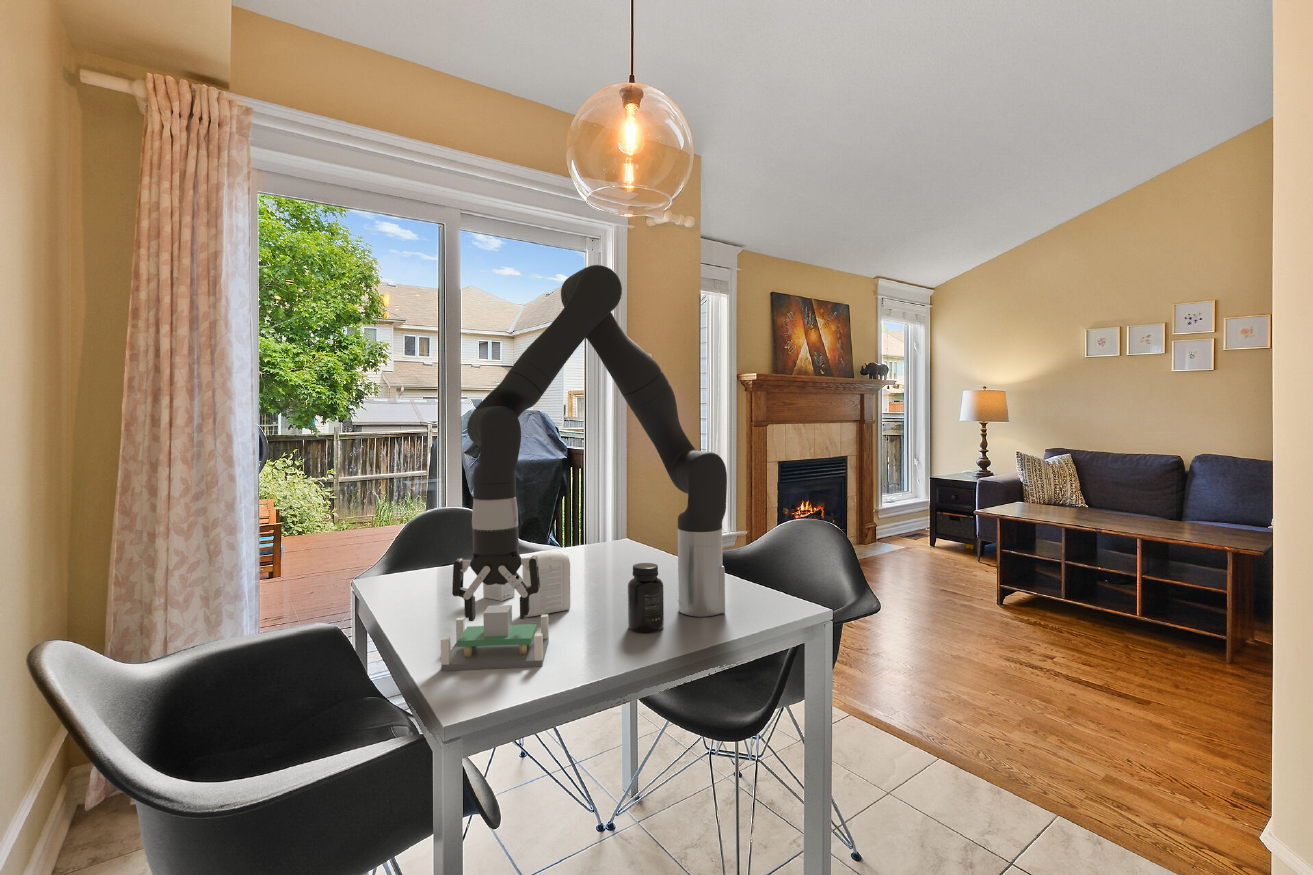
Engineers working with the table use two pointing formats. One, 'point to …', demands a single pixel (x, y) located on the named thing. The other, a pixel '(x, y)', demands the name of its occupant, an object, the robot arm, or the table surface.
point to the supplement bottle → (645, 599)
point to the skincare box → (498, 591)
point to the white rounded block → (550, 584)
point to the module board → (493, 641)
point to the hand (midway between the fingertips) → (497, 618)
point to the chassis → (494, 652)
